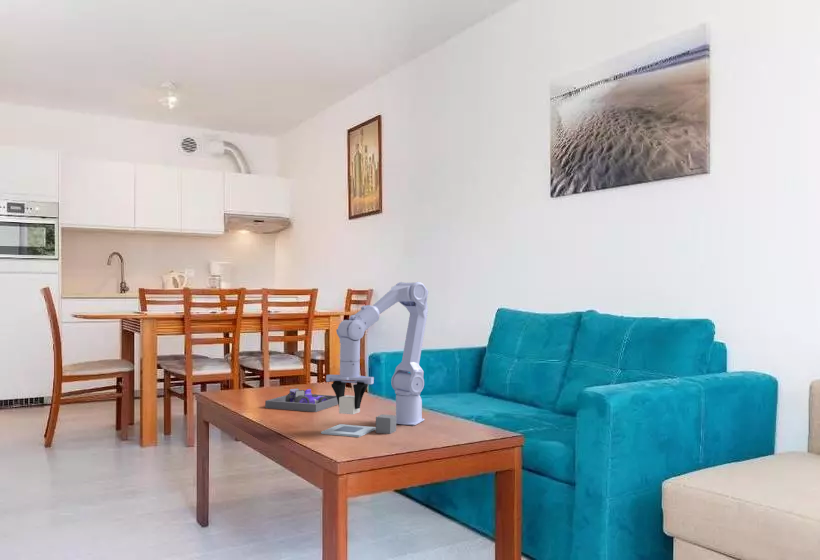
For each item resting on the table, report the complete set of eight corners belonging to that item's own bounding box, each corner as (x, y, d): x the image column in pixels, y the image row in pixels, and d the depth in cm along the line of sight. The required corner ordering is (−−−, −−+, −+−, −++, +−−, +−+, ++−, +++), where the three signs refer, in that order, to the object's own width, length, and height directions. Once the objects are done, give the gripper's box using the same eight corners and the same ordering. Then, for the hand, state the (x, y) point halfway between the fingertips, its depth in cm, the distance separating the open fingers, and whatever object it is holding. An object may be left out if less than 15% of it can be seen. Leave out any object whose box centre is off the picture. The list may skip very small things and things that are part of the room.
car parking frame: (294, 399, 248) (294, 392, 248) (342, 403, 241) (342, 396, 241) (265, 407, 230) (265, 400, 230) (315, 412, 223) (316, 404, 223)
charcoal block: (381, 429, 195) (382, 414, 195) (396, 431, 193) (396, 415, 193) (375, 432, 191) (375, 417, 191) (390, 434, 189) (390, 418, 189)
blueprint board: (339, 426, 199) (339, 423, 199) (376, 429, 195) (376, 426, 195) (321, 433, 188) (321, 431, 188) (359, 437, 184) (359, 434, 184)
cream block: (345, 410, 195) (346, 395, 195) (360, 411, 193) (360, 396, 193) (339, 413, 191) (339, 397, 191) (353, 414, 189) (353, 398, 189)
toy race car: (334, 406, 236) (335, 388, 236) (297, 410, 227) (297, 391, 228) (322, 402, 244) (322, 385, 244) (285, 406, 235) (285, 388, 235)
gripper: (321, 361, 191) (320, 407, 191) (367, 363, 186) (366, 411, 186) (332, 359, 198) (331, 404, 197) (376, 361, 192) (376, 407, 192)
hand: (349, 407), depth 192 cm, fingers closed on cream block, 5 cm apart
